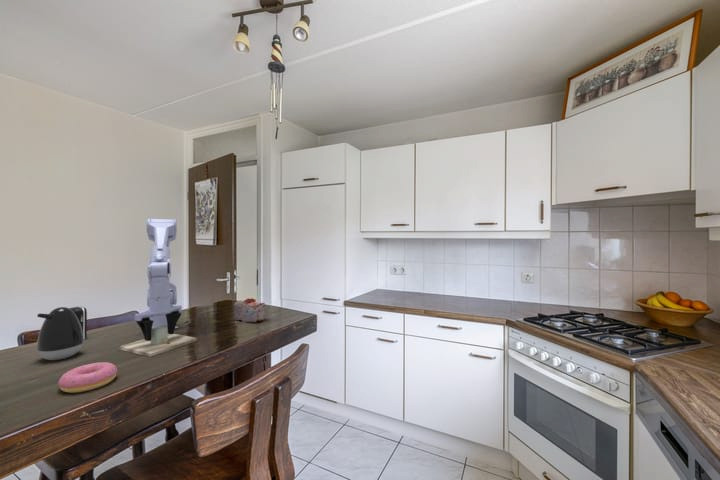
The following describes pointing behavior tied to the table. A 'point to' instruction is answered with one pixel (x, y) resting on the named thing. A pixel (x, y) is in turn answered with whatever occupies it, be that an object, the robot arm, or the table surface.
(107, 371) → the doughnut
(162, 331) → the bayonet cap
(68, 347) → the black kettle
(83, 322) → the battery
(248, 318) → the food item
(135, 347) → the post board
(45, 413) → the table surface
